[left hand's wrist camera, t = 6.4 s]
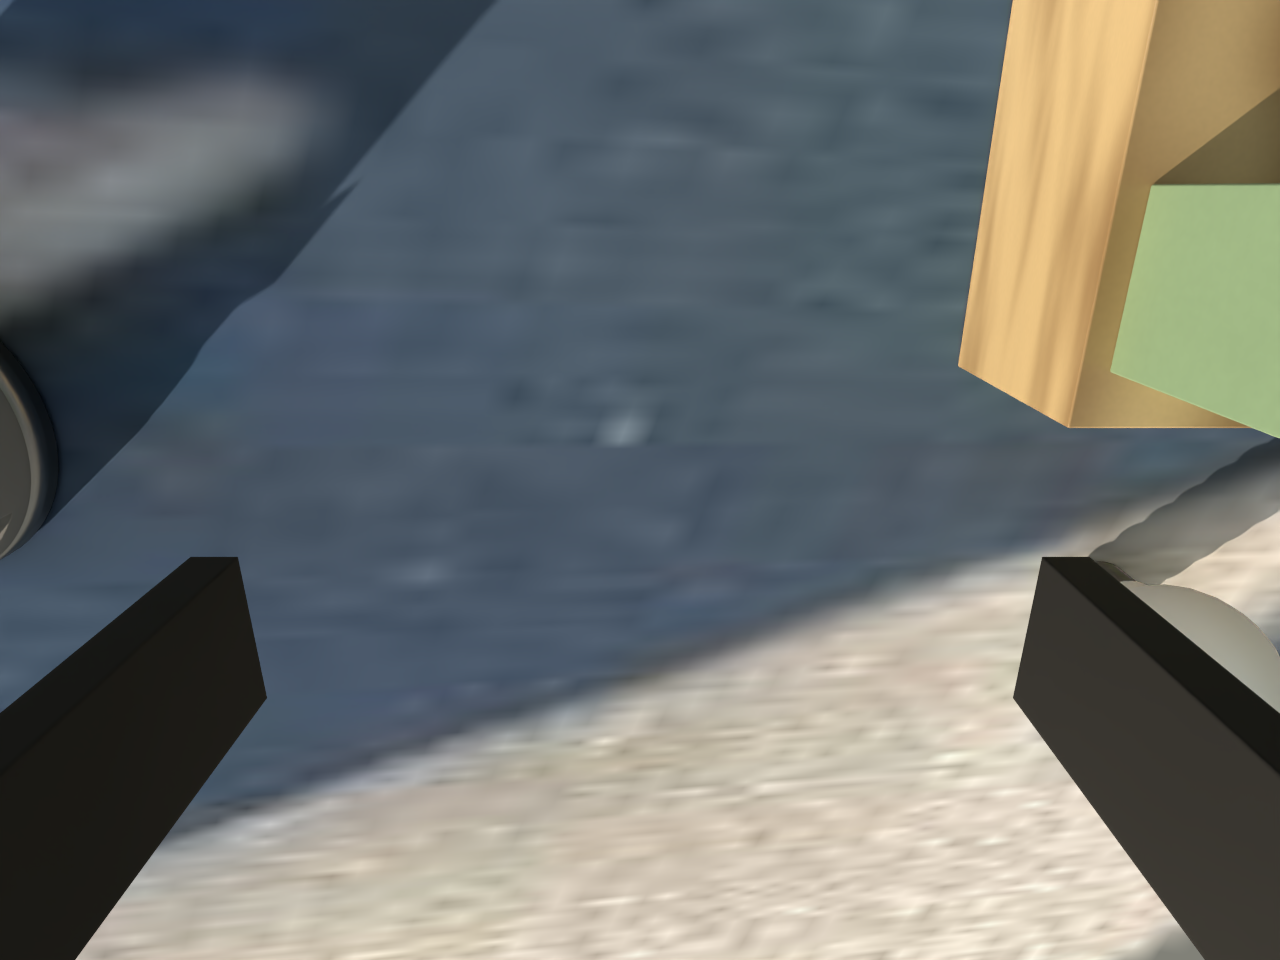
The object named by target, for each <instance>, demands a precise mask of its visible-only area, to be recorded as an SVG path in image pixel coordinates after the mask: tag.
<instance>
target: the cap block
mask: <svg viewBox="0 0 1280 960" xmlns="http://www.w3.org/2000/svg"><path fill="white" fill-rule="evenodd" d="M1110 372H1111V373H1114V374H1116V375H1119V376H1122V377H1124V378H1127V379H1129V380H1132V381H1134V382H1137V383H1139V384H1142V385H1144V386H1147V387H1150V388H1152V389H1155V390H1157V391H1160V392H1162V393H1165V394H1167V395H1170V396H1172V397H1175V398H1178V399H1180V400H1183V401H1185V402H1188V403H1190V404H1193V405H1195V406H1198V407H1201V408H1203V409H1206V410H1208V411H1211V412H1213V413H1216V414H1218V415H1221V416H1223V417H1226V418H1229V419H1231V420H1234V421H1236V422H1239V423H1241V424H1244V425H1246V426H1249V427H1251V428H1254V429H1257V430H1259V431H1262V432H1264V433H1267V434H1269V435H1272V436H1274V437H1277V438H1280V183H1223V184H1153V185H1152V186H1151V189H1150V193H1149V198H1148V202H1147V207H1146V211H1145V216H1144V220H1143V225H1142V229H1141V234H1140V238H1139V243H1138V247H1137V252H1136V256H1135V261H1134V265H1133V270H1132V274H1131V279H1130V283H1129V288H1128V292H1127V297H1126V301H1125V306H1124V310H1123V315H1122V320H1121V324H1120V329H1119V333H1118V338H1117V342H1116V347H1115V351H1114V356H1113V360H1112V365H1111V369H1110Z"/></svg>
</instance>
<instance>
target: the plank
mask: <svg viewBox="0 0 1280 960" xmlns="http://www.w3.org/2000/svg"><path fill="white" fill-rule="evenodd" d="M1223 183H1280V0H1013V4H1012V10H1011V17H1010V24H1009V30H1008V37H1007V44H1006V50H1005V57H1004V64H1003V70H1002V77H1001V84H1000V90H999V97H998V104H997V110H996V117H995V124H994V130H993V137H992V144H991V150H990V157H989V164H988V170H987V177H986V184H985V190H984V197H983V204H982V210H981V217H980V224H979V230H978V237H977V244H976V250H975V257H974V264H973V270H972V277H971V284H970V290H969V297H968V304H967V310H966V317H965V324H964V330H963V337H962V344H961V350H960V357H959V364H958V366H959V367H961V368H963V369H965V370H966V371H968V372H970V373H972V374H973V375H975V376H977V377H979V378H981V379H982V380H984V381H986V382H988V383H989V384H991V385H993V386H995V387H997V388H998V389H1000V390H1002V391H1004V392H1006V393H1007V394H1009V395H1011V396H1013V397H1014V398H1016V399H1018V400H1020V401H1022V402H1023V403H1025V404H1027V405H1029V406H1030V407H1032V408H1034V409H1036V410H1038V411H1039V412H1041V413H1043V414H1045V415H1047V416H1048V417H1050V418H1052V419H1054V420H1055V421H1057V422H1059V423H1061V424H1063V425H1064V426H1066V427H1068V428H1251V427H1249V426H1246V425H1244V424H1241V423H1239V422H1236V421H1234V420H1231V419H1229V418H1226V417H1223V416H1221V415H1218V414H1216V413H1213V412H1211V411H1208V410H1206V409H1203V408H1201V407H1198V406H1195V405H1193V404H1190V403H1188V402H1185V401H1183V400H1180V399H1178V398H1175V397H1172V396H1170V395H1167V394H1165V393H1162V392H1160V391H1157V390H1155V389H1152V388H1150V387H1147V386H1144V385H1142V384H1139V383H1137V382H1134V381H1132V380H1129V379H1127V378H1124V377H1122V376H1119V375H1116V374H1114V373H1111V372H1110V369H1111V365H1112V360H1113V356H1114V351H1115V347H1116V342H1117V338H1118V333H1119V329H1120V324H1121V320H1122V315H1123V310H1124V306H1125V301H1126V297H1127V292H1128V288H1129V283H1130V279H1131V274H1132V270H1133V265H1134V261H1135V256H1136V252H1137V247H1138V243H1139V238H1140V234H1141V229H1142V225H1143V220H1144V216H1145V211H1146V207H1147V202H1148V198H1149V193H1150V189H1151V186H1152V185H1153V184H1223Z"/></svg>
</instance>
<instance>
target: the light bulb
mask: <svg viewBox="0 0 1280 960" xmlns="http://www.w3.org/2000/svg"><path fill="white" fill-rule="evenodd" d="M1096 563H1097V564H1098V565H1100V566H1101V567H1102V568H1103V569H1104V570H1106V571H1107V572H1108V573H1109V574H1111V575H1112V576H1113V577H1114V578H1115V579H1117V580H1118V581H1119V582H1120V583H1122V584H1123V585H1124V586H1125V587H1126V588H1128V589H1129V590H1130V591H1131V592H1133V593H1134V594H1135V595H1136V596H1137V597H1139V598H1140V599H1141V600H1142V601H1144V602H1145V603H1146V604H1147V605H1148V606H1150V607H1151V608H1152V609H1153V610H1155V611H1156V612H1157V613H1158V614H1159V615H1161V616H1162V617H1163V618H1164V619H1165V620H1167V621H1168V622H1169V623H1170V624H1172V625H1173V626H1174V627H1175V628H1176V629H1178V630H1179V631H1180V632H1181V633H1183V634H1184V635H1185V636H1186V637H1187V638H1189V639H1190V640H1191V641H1192V642H1194V643H1195V644H1196V645H1197V646H1198V647H1200V648H1201V649H1202V650H1203V651H1205V652H1206V653H1207V654H1208V655H1209V656H1211V657H1212V658H1213V659H1214V660H1215V661H1217V662H1218V663H1219V664H1220V665H1222V666H1223V667H1224V668H1225V669H1226V670H1228V671H1229V672H1230V673H1231V674H1233V675H1234V676H1235V677H1236V678H1237V679H1239V680H1240V681H1241V682H1242V683H1244V684H1245V685H1246V686H1247V687H1248V688H1250V689H1251V690H1252V691H1253V692H1255V693H1256V694H1257V695H1258V696H1259V697H1261V698H1262V699H1263V700H1264V701H1266V702H1267V703H1268V704H1269V705H1270V706H1272V707H1273V708H1274V709H1275V710H1276V711H1278V712H1279V713H1280V656H1279V654H1278V652H1277V650H1276V648H1275V647H1274V645H1273V644H1272V643H1271V642H1270V640H1269V639H1268V638H1267V637H1266V635H1265V634H1264V633H1263V632H1262V631H1261V630H1260V629H1259V628H1258V626H1257V625H1256V624H1254V623H1253V622H1252V621H1251V620H1250V619H1248V618H1247V617H1246V616H1245V615H1244V614H1242V613H1241V612H1239V611H1238V610H1236V609H1235V608H1233V607H1232V606H1230V605H1228V604H1227V603H1225V602H1223V601H1221V600H1220V599H1218V598H1215V597H1213V596H1210V595H1207V594H1205V593H1202V592H1199V591H1196V590H1193V589H1191V588H1184V587H1178V586H1171V585H1148V586H1147V585H1146V584H1143V583H1141V582H1137V581H1135V580H1134V579H1132V578H1131V577H1130V576H1129V575H1127V574H1126V573H1125V572H1124V571H1122V570H1121V569H1120V568H1118V567H1117V566H1115V565H1113V564H1110V563H1107V562H1099V561H1096Z"/></svg>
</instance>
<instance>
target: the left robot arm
mask: <svg viewBox="0 0 1280 960" xmlns="http://www.w3.org/2000/svg"><path fill="white" fill-rule="evenodd" d="M57 482H58V452H57V445H56V440H55V435H54V431H53V427H52V424H51V421H50V418H49V416H48V413H47V411H46V408H45V406H44V404H43V401H42V399H41V397H40V395H39V394H38V392H37V390H36V388H35V386H34V384H33V383H32V381H31V380H30V378H29V377H28V375H27V374H26V372H25V371H24V369H23V368H22V366H21V365H20V364H19V363H18V361H17V360H16V359H15V357H14V356H13V355H12V354H11V353H10V351H9V350H8V349H7V348H6V347H5V346H4V345H3V344H2V342H1V341H0V560H1V559H2V558H4V557H6V556H8V555H9V554H11V553H12V552H14V551H16V550H17V549H19V548H20V547H21V546H23V545H24V544H25V543H26V542H27V541H28V540H30V539H31V537H32V536H33V535H34V534H35V533H36V532H37V531H38V529H39V528H40V527H41V525H42V524H43V522H44V521H45V519H46V517H47V515H48V513H49V511H50V509H51V506H52V503H53V500H54V498H55V493H56V488H57ZM266 699H267V696H266V691H265V686H264V681H263V677H262V672H261V667H260V662H259V657H258V653H257V648H256V643H255V638H254V633H253V628H252V624H251V619H250V614H249V609H248V604H247V600H246V595H245V590H244V585H243V580H242V575H241V571H240V566H239V561H238V557H190V558H189V559H188V560H186V561H185V562H184V563H183V564H182V565H180V566H179V567H178V568H177V569H176V570H174V571H173V572H172V573H171V574H169V575H168V576H167V577H166V578H165V579H163V580H162V581H161V582H160V583H158V584H157V585H156V586H155V587H154V588H152V589H151V590H150V591H149V592H147V593H146V594H145V595H144V596H143V597H141V598H140V599H139V600H138V601H136V602H135V603H134V604H133V605H132V606H130V607H129V608H128V609H127V610H125V611H124V612H123V613H122V614H121V615H119V616H118V617H117V618H116V619H115V620H113V621H112V622H111V623H110V624H108V625H107V626H106V627H105V628H104V629H102V630H101V631H100V632H99V633H97V634H96V635H95V636H94V637H93V638H91V639H90V640H89V641H88V642H86V643H85V644H84V645H83V646H82V647H80V648H79V649H78V650H77V651H75V652H74V653H73V654H72V655H71V656H69V657H68V658H67V659H66V660H65V661H63V662H62V663H61V664H60V665H58V666H57V667H56V668H55V669H54V670H52V671H51V672H50V673H49V674H47V675H46V676H45V677H44V678H43V679H41V680H40V681H39V682H38V683H36V684H35V685H34V686H33V687H32V688H30V689H29V690H28V691H27V692H25V693H24V694H23V695H22V696H21V697H19V698H18V699H17V700H16V701H15V702H13V703H12V704H11V705H10V706H8V707H7V708H6V709H5V710H4V711H2V712H1V713H0V960H75V959H76V958H77V956H78V955H79V954H80V952H81V951H82V950H83V948H84V947H85V946H86V944H87V943H88V941H89V940H90V939H91V937H92V936H93V935H94V933H95V932H96V931H97V929H98V928H99V926H100V925H101V924H102V922H103V921H104V920H105V918H106V917H107V916H108V914H109V913H110V911H111V910H112V909H113V907H114V906H115V905H116V903H117V902H118V901H119V899H120V898H121V896H122V895H123V894H124V892H125V891H126V890H127V888H128V887H129V886H130V884H131V883H132V881H133V880H134V879H135V877H136V876H137V875H138V873H139V872H140V870H141V869H142V868H143V866H144V865H145V864H146V862H147V861H148V860H149V858H150V857H151V855H152V854H153V853H154V851H155V850H156V849H157V847H158V846H159V845H160V843H161V842H162V840H163V839H164V838H165V836H166V835H167V834H168V832H169V831H170V830H171V828H172V827H173V825H174V824H175V823H176V821H177V820H178V819H179V817H180V816H181V815H182V813H183V812H184V810H185V809H186V808H187V806H188V805H189V804H190V802H191V801H192V800H193V798H194V797H195V795H196V794H197V793H198V791H199V790H200V789H201V787H202V786H203V784H204V783H205V782H206V780H207V779H208V778H209V776H210V775H211V774H212V772H213V771H214V769H215V768H216V767H217V765H218V764H219V763H220V761H221V760H222V759H223V757H224V756H225V754H226V753H227V752H228V750H229V749H230V748H231V746H232V745H233V744H234V742H235V741H236V739H237V738H238V737H239V735H240V734H241V733H242V731H243V730H244V729H245V727H246V726H247V724H248V723H249V722H250V720H251V719H252V718H253V716H254V715H255V714H256V712H257V711H258V709H259V708H260V707H261V705H262V704H263V703H264V701H265V700H266ZM1013 699H1014V700H1015V701H1016V703H1017V704H1018V705H1019V707H1020V708H1021V709H1022V711H1023V712H1024V714H1025V715H1026V716H1027V718H1028V719H1029V720H1030V722H1031V723H1032V724H1033V726H1034V727H1035V729H1036V730H1037V731H1038V733H1039V734H1040V735H1041V737H1042V738H1043V739H1044V741H1045V742H1046V744H1047V745H1048V746H1049V748H1050V749H1051V750H1052V752H1053V753H1054V754H1055V756H1056V757H1057V759H1058V760H1059V761H1060V763H1061V764H1062V765H1063V767H1064V768H1065V769H1066V771H1067V772H1068V774H1069V775H1070V776H1071V778H1072V779H1073V780H1074V782H1075V783H1076V784H1077V786H1078V787H1079V789H1080V790H1081V791H1082V793H1083V794H1084V795H1085V797H1086V798H1087V800H1088V801H1089V802H1090V804H1091V805H1092V806H1093V808H1094V809H1095V810H1096V812H1097V813H1098V815H1099V816H1100V817H1101V819H1102V820H1103V821H1104V823H1105V824H1106V825H1107V827H1108V828H1109V830H1110V831H1111V832H1112V834H1113V835H1114V836H1115V838H1116V839H1117V840H1118V842H1119V843H1120V845H1121V846H1122V847H1123V849H1124V850H1125V851H1126V853H1127V854H1128V855H1129V857H1130V858H1131V860H1132V861H1133V862H1134V864H1135V865H1136V866H1137V868H1138V869H1139V870H1140V872H1141V873H1142V875H1143V876H1144V877H1145V879H1146V880H1147V881H1148V883H1149V884H1150V886H1151V887H1152V888H1153V890H1154V891H1155V892H1156V894H1157V895H1158V896H1159V898H1160V899H1161V901H1162V902H1163V903H1164V905H1165V906H1166V907H1167V909H1168V910H1169V911H1170V913H1171V914H1172V916H1173V917H1174V918H1175V920H1176V921H1177V922H1178V924H1179V925H1180V926H1181V928H1182V929H1183V931H1184V932H1185V933H1186V935H1187V936H1188V937H1189V939H1190V940H1191V941H1192V943H1193V944H1194V946H1195V947H1196V948H1197V950H1198V951H1199V952H1200V954H1201V955H1202V956H1203V958H1204V959H1205V960H1280V713H1279V712H1278V711H1276V710H1275V709H1274V708H1273V707H1272V706H1270V705H1269V704H1268V703H1267V702H1266V701H1264V700H1263V699H1262V698H1261V697H1259V696H1258V695H1257V694H1256V693H1255V692H1253V691H1252V690H1251V689H1250V688H1248V687H1247V686H1246V685H1245V684H1244V683H1242V682H1241V681H1240V680H1239V679H1237V678H1236V677H1235V676H1234V675H1233V674H1231V673H1230V672H1229V671H1228V670H1226V669H1225V668H1224V667H1223V666H1222V665H1220V664H1219V663H1218V662H1217V661H1215V660H1214V659H1213V658H1212V657H1211V656H1209V655H1208V654H1207V653H1206V652H1205V651H1203V650H1202V649H1201V648H1200V647H1198V646H1197V645H1196V644H1195V643H1194V642H1192V641H1191V640H1190V639H1189V638H1187V637H1186V636H1185V635H1184V634H1183V633H1181V632H1180V631H1179V630H1178V629H1176V628H1175V627H1174V626H1173V625H1172V624H1170V623H1169V622H1168V621H1167V620H1165V619H1164V618H1163V617H1162V616H1161V615H1159V614H1158V613H1157V612H1156V611H1155V610H1153V609H1152V608H1151V607H1150V606H1148V605H1147V604H1146V603H1145V602H1144V601H1142V600H1141V599H1140V598H1139V597H1137V596H1136V595H1135V594H1134V593H1133V592H1131V591H1130V590H1129V589H1128V588H1126V587H1125V586H1124V585H1123V584H1122V583H1120V582H1119V581H1118V580H1117V579H1115V578H1114V577H1113V576H1112V575H1111V574H1109V573H1108V572H1107V571H1106V570H1104V569H1103V568H1102V567H1101V566H1100V565H1098V564H1097V563H1096V562H1095V561H1094V560H1092V559H1091V558H1090V557H1042V561H1041V566H1040V571H1039V575H1038V580H1037V585H1036V590H1035V595H1034V600H1033V604H1032V609H1031V614H1030V619H1029V624H1028V628H1027V633H1026V638H1025V643H1024V648H1023V653H1022V657H1021V662H1020V667H1019V672H1018V677H1017V681H1016V686H1015V691H1014V696H1013Z"/></svg>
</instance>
